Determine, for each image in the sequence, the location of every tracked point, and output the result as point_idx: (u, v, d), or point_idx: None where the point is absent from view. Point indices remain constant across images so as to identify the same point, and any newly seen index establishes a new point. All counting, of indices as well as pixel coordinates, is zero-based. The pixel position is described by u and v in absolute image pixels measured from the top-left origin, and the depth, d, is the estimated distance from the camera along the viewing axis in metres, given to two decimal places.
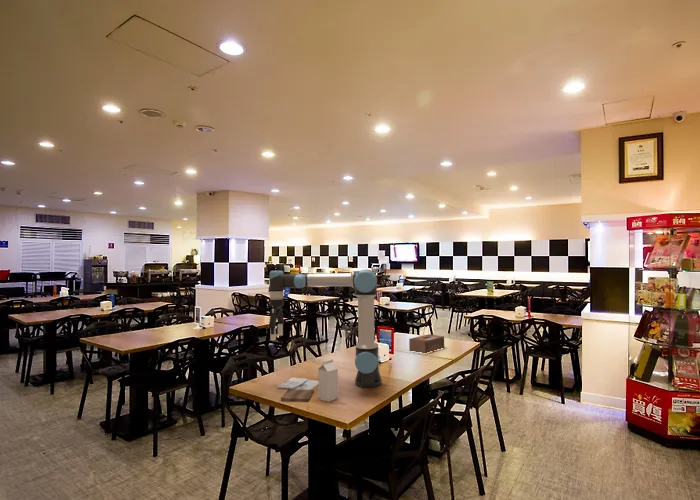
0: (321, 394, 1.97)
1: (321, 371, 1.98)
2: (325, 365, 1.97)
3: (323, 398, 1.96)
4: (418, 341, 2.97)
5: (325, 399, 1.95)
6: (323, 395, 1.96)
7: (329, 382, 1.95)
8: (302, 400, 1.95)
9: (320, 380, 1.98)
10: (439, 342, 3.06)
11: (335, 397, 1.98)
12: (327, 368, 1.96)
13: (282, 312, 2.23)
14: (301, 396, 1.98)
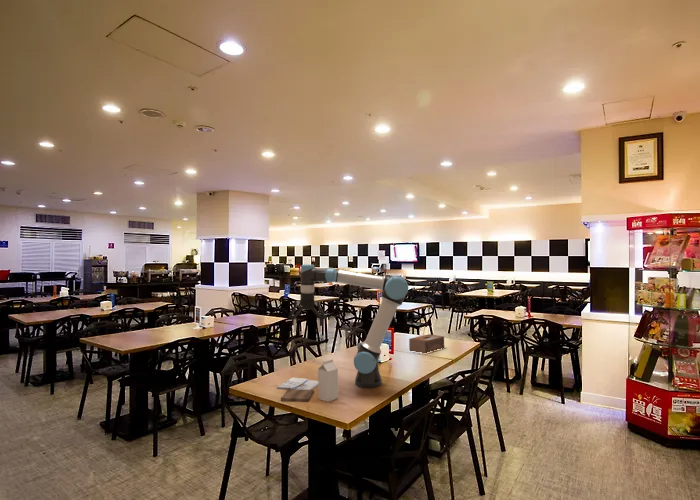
0: (321, 394, 1.97)
1: (321, 371, 1.98)
2: (325, 365, 1.97)
3: (323, 398, 1.96)
4: (418, 341, 2.97)
5: (325, 399, 1.95)
6: (323, 395, 1.96)
7: (329, 382, 1.95)
8: (302, 400, 1.95)
9: (320, 380, 1.98)
10: (439, 342, 3.06)
11: (335, 397, 1.98)
12: (327, 368, 1.96)
13: (320, 308, 2.14)
14: (301, 396, 1.98)
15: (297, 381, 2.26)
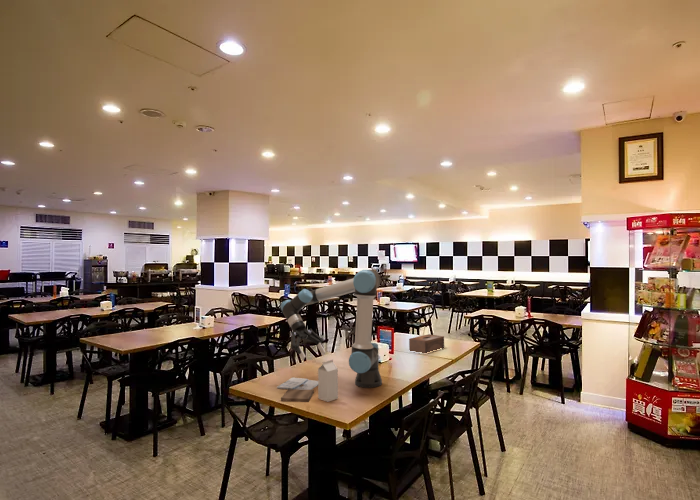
0: (321, 394, 1.97)
1: (321, 371, 1.98)
2: (325, 365, 1.97)
3: (323, 398, 1.96)
4: (418, 341, 2.97)
5: (325, 399, 1.95)
6: (323, 395, 1.96)
7: (329, 382, 1.95)
8: (302, 400, 1.95)
9: (320, 380, 1.98)
10: (439, 342, 3.06)
11: (335, 397, 1.98)
12: (327, 368, 1.96)
13: (315, 333, 2.19)
14: (301, 396, 1.98)
15: (297, 381, 2.26)
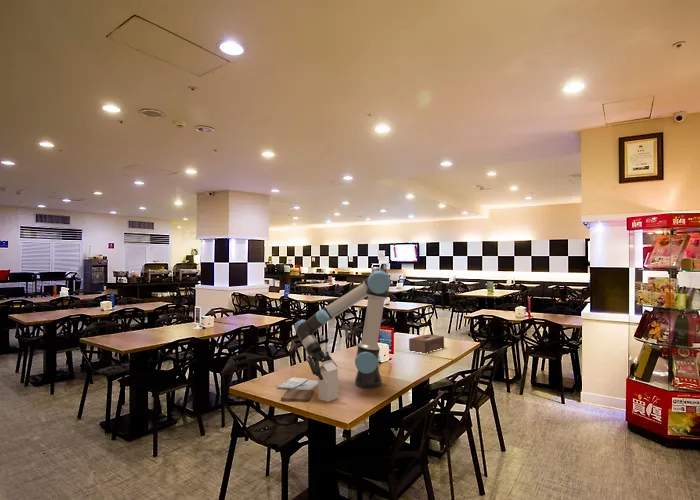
0: (321, 394, 1.97)
1: (321, 371, 1.98)
2: (325, 365, 1.97)
3: (323, 398, 1.96)
4: (418, 341, 2.97)
5: (325, 399, 1.95)
6: (323, 395, 1.96)
7: (329, 382, 1.95)
8: (302, 400, 1.95)
9: (320, 380, 1.98)
10: (439, 342, 3.06)
11: (335, 397, 1.98)
12: (327, 368, 1.96)
13: (330, 357, 2.08)
14: (301, 396, 1.98)
15: (297, 381, 2.26)
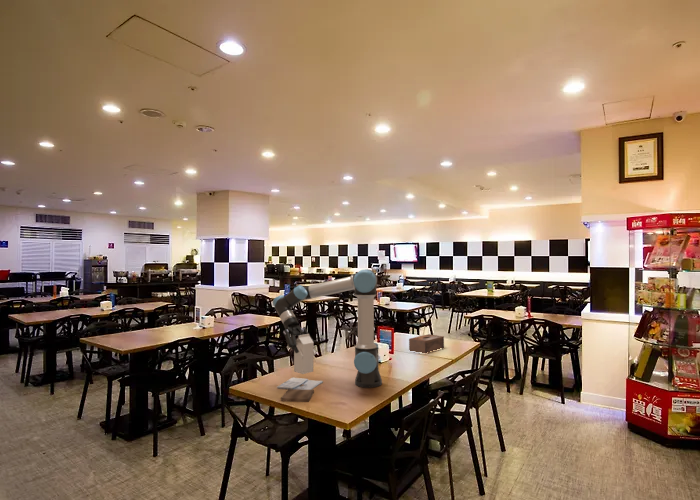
0: (297, 367, 2.00)
1: (297, 344, 2.01)
2: (301, 338, 2.00)
3: (298, 371, 1.99)
4: (418, 341, 2.97)
5: (300, 371, 1.98)
6: (299, 367, 1.99)
7: (304, 355, 1.98)
8: (302, 400, 1.95)
9: (296, 353, 2.01)
10: (439, 342, 3.06)
11: (310, 370, 2.01)
12: (303, 341, 1.99)
13: (307, 332, 2.11)
14: (301, 396, 1.98)
15: (297, 381, 2.26)
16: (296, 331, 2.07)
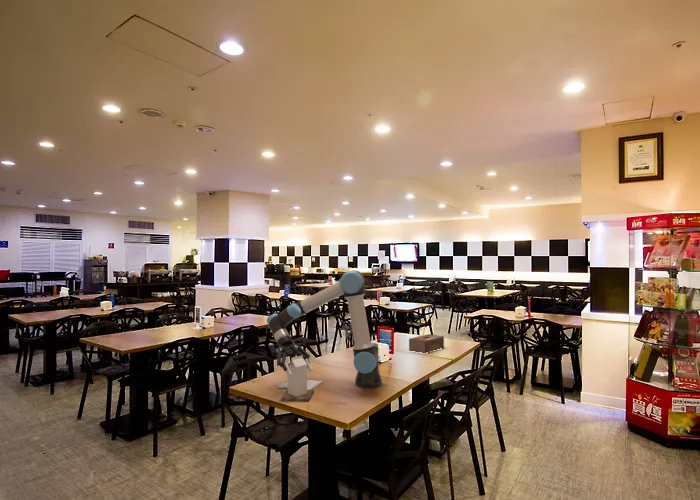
0: (290, 389, 2.01)
1: (290, 366, 2.01)
2: (294, 361, 2.01)
3: (292, 393, 2.00)
4: (418, 341, 2.97)
5: (294, 394, 1.99)
6: (292, 390, 2.00)
7: (297, 377, 1.99)
8: (302, 400, 1.95)
9: None
10: (439, 342, 3.06)
11: (304, 392, 2.01)
12: (296, 363, 2.00)
13: None
14: (301, 396, 1.98)
15: None
16: (290, 350, 2.08)
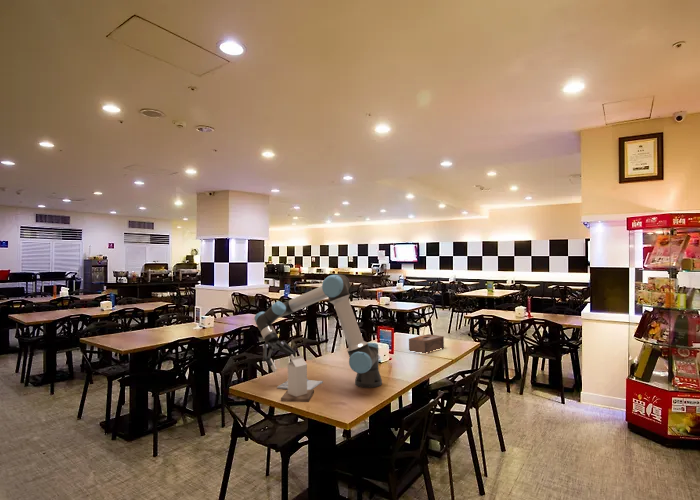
0: (290, 389, 2.01)
1: (290, 366, 2.01)
2: (294, 361, 2.01)
3: (292, 393, 2.00)
4: (417, 341, 2.97)
5: (294, 394, 1.99)
6: (292, 390, 2.00)
7: (297, 377, 1.99)
8: (302, 400, 1.95)
9: (289, 375, 2.02)
10: (439, 342, 3.06)
11: (304, 392, 2.01)
12: (296, 364, 2.00)
13: (287, 344, 2.22)
14: (301, 396, 1.98)
15: None
16: (276, 346, 2.17)
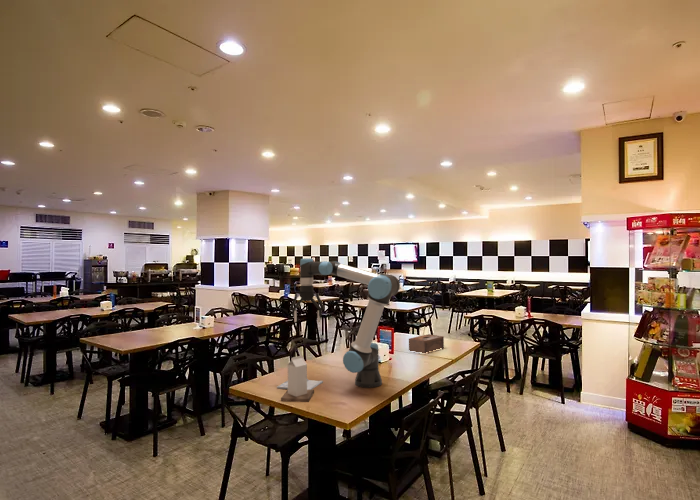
0: (290, 389, 2.01)
1: (290, 366, 2.01)
2: (294, 361, 2.01)
3: (292, 393, 2.00)
4: (417, 341, 2.97)
5: (294, 394, 1.99)
6: (292, 390, 2.00)
7: (297, 377, 1.99)
8: (302, 400, 1.95)
9: (289, 375, 2.02)
10: (439, 342, 3.06)
11: (304, 392, 2.01)
12: (296, 364, 2.00)
13: (319, 299, 2.26)
14: (301, 396, 1.98)
15: None
16: (306, 299, 2.27)
